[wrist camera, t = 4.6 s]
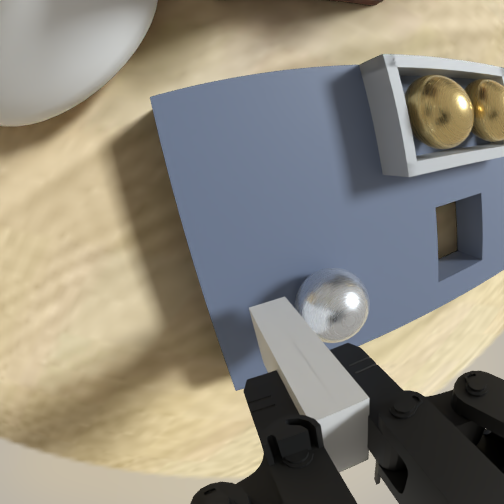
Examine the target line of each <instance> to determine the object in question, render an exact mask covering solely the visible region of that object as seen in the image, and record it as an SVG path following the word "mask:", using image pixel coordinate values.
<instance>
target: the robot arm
mask: <svg viewBox="0 0 504 504" xmlns="http://www.w3.org/2000/svg"><path fill="white" fill-rule="evenodd" d="M249 311H250V314H251V318H252V322H253V326H254V330H255V333H256V337H257V341H258V345H259V348H260V352H261V356H262V360H263V363H264V365H265V367H266V369H267V371H268V373H266V374H263V375H260V376H257V377H253V378H250V379H247V380H246V384H245V388H244V394H245V397H246V400H247V403H248V406H249V409H250V412H251V415H252V418H253V421H254V424H255V427H256V429H257V432H258V435H259V438H260V441H261V444H262V448H263V451H264V456H263V461H262V463H261V465H260V466H259V468H258V469H257V470H256V471H255V472H254V473H253V474H251V475H250V476H249V477H247V478H245V479H244V480H242V481H240V482H238V483H237V484H233V483H228V482H218V483H213V484H209V485H207V486H205V487H203V488H202V489H200V490H199V491H198V492H197V493H196V494H195V495H194V497H193V499H192V501H191V504H357V503H356V501H355V499H354V497H353V496H352V494H351V493H350V491H349V489H348V488H347V486H346V484H345V482H344V481H343V479H342V477H341V475H340V473H339V472H341V471H343V470H346V469H348V468H350V467H352V466H355V465H357V464H359V463H361V462H363V461H366V460H368V455H369V454H368V453H369V450H370V452H371V453H372V454H373V456H374V457H375V459H376V467H375V478H374V479H375V482H376V484H379V483H380V477H381V478H382V479H383V481H384V482H385V484H386V485H387V487H388V488H389V490H390V491H391V493H392V494H393V495H394V497H395V498H396V500H397V501H398V503H399V504H504V380H503V379H501V378H498V377H496V376H494V375H492V374H489V373H487V372H482V371H470V372H467V373H464V374H463V375H462V376H460V377H459V378H458V379H457V381H456V383H455V385H454V389H453V390H451V391H448V392H445V393H441V394H437V395H434V396H428V397H424V396H423V395H421V394H420V393H418V392H414V391H404V390H402V389H401V388H400V387H399V386H398V385H397V384H396V383H395V382H394V381H393V380H392V379H391V378H390V377H389V376H388V375H387V374H386V373H385V372H384V371H383V370H382V369H381V368H380V367H379V366H378V365H376V363H375V362H374V361H373V360H372V359H371V358H370V357H369V356H368V355H367V354H366V353H365V352H364V351H363V350H362V349H361V348H360V347H357V346H355V345H353V344H350V343H346V344H343V345H341V346H338V347H336V348H333V349H331V350H329V349H328V348H327V346H326V345H325V344H324V343H323V342H322V340H321V339H320V338H319V337H318V336H317V334H316V333H315V332H314V331H313V330H312V328H311V327H310V326H309V325H308V324H307V322H306V321H305V320H304V319H303V318H302V316H301V315H300V314H299V313H298V312H297V310H296V309H295V308H294V307H293V306H292V304H291V303H290V302H289V301H288V300H287V298H286V297H282V298H278V299H275V300H272V301H269V302H266V303H262V304H259V305H256V306H253V307H249ZM485 428H486V429H485Z"/></svg>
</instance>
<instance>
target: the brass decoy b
mask: <svg viewBox="0 0 504 504" xmlns="http://www.w3.org/2000/svg"><path fill="white" fill-rule="evenodd" d="M464 90H465V91H466V93H467V94H468V96H469V98H470V100H471V102H472V105H473V110H474V123H473V127H472V130H471V132H472V133H473V134H474V135H476V136H477V137H479V138H481V139H483V140H486V141H490V142H497V141H501V140H504V86H502V85H501V84H499V83H498V82H495V81H493V80H489V79H479V80H475V81H473V82H471V83H470V84H468V85H467V87H466V88H465V89H464Z"/></svg>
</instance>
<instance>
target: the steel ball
mask: <svg viewBox="0 0 504 504" xmlns="http://www.w3.org/2000/svg"><path fill="white" fill-rule="evenodd" d="M369 306H370V302H369V296H368V292H367V290H366V288H365V286H364V284H363V283H362V281H361V280H360V279H359V278H358V277H357V276H356V275H354V274H353V273H351V272H349V271H347V270H344V269H341V268H325V269H321V270H319V271H316V272H315V273H313V274H311V275H310V276H309V277H308V278H306V279H305V281H304V282H303V283H302V284H301V286H300V288H299V290H298V292H297V295H296V299H295V309H296V310H297V312H298V313H299V314H300V315H301V316H302V318H303V319H304V320H305V321H306V322H307V324H308V325H309V326H310V327H311V328H312V330H313V331H314V332H315V333H316V334H317V336H318V337H319V338H320V339H321V340H322V342H326V343H337V342H342V341H345V340H347V339H349V338H351V337H352V336H354V335H355V334H356V333H357V332H359V330H360V329H361V328H362V327H363V325H364V323H365V322H366V319H367V317H368V313H369Z"/></svg>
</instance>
